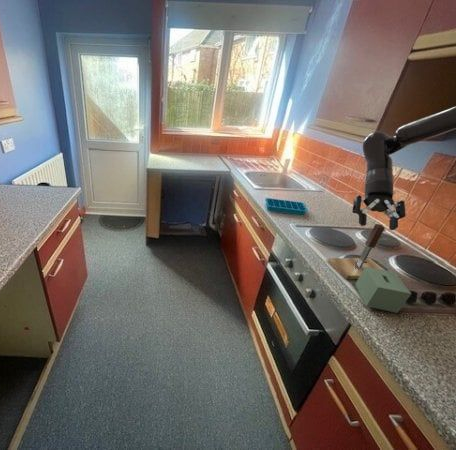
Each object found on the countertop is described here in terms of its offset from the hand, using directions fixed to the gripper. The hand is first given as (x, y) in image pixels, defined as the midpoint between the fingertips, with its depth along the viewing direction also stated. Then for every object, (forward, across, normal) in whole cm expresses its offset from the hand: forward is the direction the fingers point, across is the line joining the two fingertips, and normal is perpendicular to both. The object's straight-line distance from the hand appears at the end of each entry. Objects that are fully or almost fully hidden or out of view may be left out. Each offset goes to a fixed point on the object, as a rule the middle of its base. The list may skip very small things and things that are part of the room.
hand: (377, 227), depth 84 cm
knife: (+12, 0, -11) cm, 16 cm away
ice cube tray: (-20, +20, -45) cm, 53 cm away
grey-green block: (+24, 0, -1) cm, 24 cm away
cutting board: (+13, 0, -12) cm, 18 cm away
